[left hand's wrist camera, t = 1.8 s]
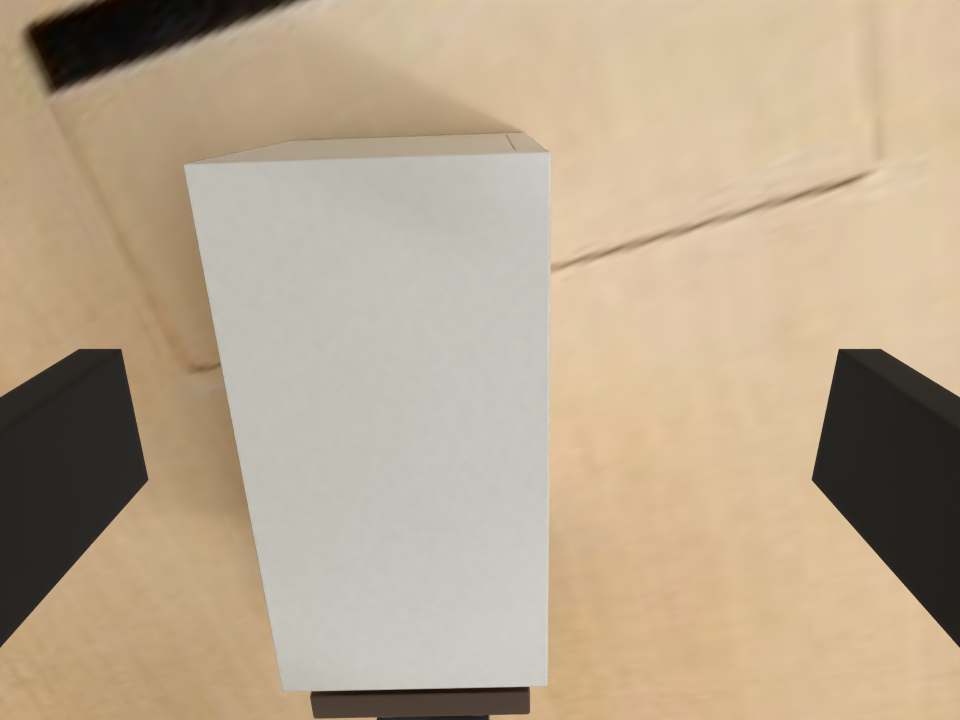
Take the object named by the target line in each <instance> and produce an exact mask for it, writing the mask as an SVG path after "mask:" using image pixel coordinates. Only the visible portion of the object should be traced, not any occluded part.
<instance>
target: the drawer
mask: <svg viewBox="0 0 960 720" xmlns="http://www.w3.org/2000/svg"><path fill="white" fill-rule="evenodd" d="M310 699H311V705H312V711H313V716H314V718H363V717H377V720H490V715H510V714H529V713H530V688H529V687H487V688H439V689H392V690H344V691H312V692H311V696H310Z"/></svg>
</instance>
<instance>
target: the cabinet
mask: <svg viewBox="0 0 960 720" xmlns="http://www.w3.org/2000/svg"><path fill="white" fill-rule="evenodd" d="M184 172H185V177H186V182H187V188H188V193H189V198H190V203H191V209H192V214H193V219H194V224H195V230H196V235H197V240H198V246H199V251H200V256H201V261H202V267H203V272H204V277H205V283H206V288H207V293H208V298H209V304H210V309H211V314H212V319H213V325H214V330H215V335H216V341H217V346H218V351H219V356H220V362H221V367H222V372H223V378H224V383H225V388H226V393H227V399H228V404H229V409H230V415H231V420H232V425H233V430H234V436H235V441H236V446H237V451H238V457H239V462H240V467H241V473H242V478H243V483H244V488H245V494H246V499H247V504H248V510H249V515H250V520H251V525H252V531H253V536H254V541H255V547H256V552H257V557H258V562H259V568H260V573H261V578H262V583H263V589H264V594H265V599H266V605H267V610H268V615H269V620H270V626H271V631H272V636H273V642H274V647H275V652H276V657H277V663H278V668H279V673H280V678H281V684H282V689H283V691H284V692H296V691H344V690H392V689H439V688H487V687H534V686H547V685H548V562H549V408H550V255H551V152H550V151H548V150H546V149H545V148H544V147H543V146H541V145H540V144H539V143H537V142H536V141H535V140H534V139H532V138H531V137H530V136H529V135H527V134H526V133H495V134H466V135H437V136H407V137H378V138H349V139H319V140H292V141H288V142H283V143H278V144H274V145H269V146H265V147H260V148H255V149H251V150H246V151H241V152H237V153H232V154H228V155H223V156H218V157H214V158H209V159H205V160H200V161H195V162H191V163H186V164H184Z"/></svg>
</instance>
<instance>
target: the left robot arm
mask: <svg viewBox="0 0 960 720" xmlns="http://www.w3.org/2000/svg"><path fill="white" fill-rule="evenodd" d="M147 481H148V476H147V471H146V466H145V461H144V457H143V452H142V447H141V442H140V437H139V433H138V428H137V423H136V418H135V413H134V409H133V404H132V399H131V394H130V389H129V384H128V380H127V375H126V370H125V365H124V360H123V356H122V351H121V349H79V350H77V351H75V352H74V353H72V354H70V355H69V356H67V357H65V358H64V359H62V360H61V361H59V362H57V363H56V364H54V365H52V366H51V367H49V368H47V369H46V370H44V371H43V372H41V373H39V374H38V375H36V376H34V377H33V378H31V379H29V380H28V381H26V382H25V383H23V384H21V385H20V386H18V387H16V388H15V389H13V390H11V391H10V392H8V393H7V394H5V395H3V396H2V397H0V647H1V646H2V645H3V644H4V643H5V642H6V641H7V639H8V638H9V637H10V636H11V635H12V634H13V633H14V631H15V630H16V629H17V628H18V627H19V626H20V625H21V624H22V622H23V621H24V620H25V619H26V618H27V617H28V616H29V614H30V613H31V612H32V611H33V610H34V609H35V608H36V607H37V605H38V604H39V603H40V602H41V601H42V600H43V599H44V597H45V596H46V595H47V594H48V593H49V592H50V591H51V590H52V588H53V587H54V586H55V585H56V584H57V583H58V582H59V581H60V579H61V578H62V577H63V576H64V575H65V574H66V573H67V571H68V570H69V569H70V568H71V567H72V566H73V565H74V564H75V562H76V561H77V560H78V559H79V558H80V557H81V556H82V554H83V553H84V552H85V551H86V550H87V549H88V548H89V547H90V545H91V544H92V543H93V542H94V541H95V540H96V539H97V537H98V536H99V535H100V534H101V533H102V532H103V531H104V530H105V528H106V527H107V526H108V525H109V524H110V523H111V522H112V520H113V519H114V518H115V517H116V516H117V515H118V514H119V513H120V511H121V510H122V509H123V508H124V507H125V506H126V505H127V503H128V502H129V501H130V500H131V499H132V498H133V497H134V496H135V494H136V493H137V492H138V491H139V490H140V489H141V488H142V487H143V485H144V484H145V483H146V482H147ZM812 481H813V482H814V483H815V484H816V485H817V487H818V488H819V489H820V490H821V491H822V492H823V493H824V494H825V496H826V497H827V498H828V499H829V500H830V501H831V502H832V503H833V505H834V506H835V507H836V508H837V509H838V510H839V511H840V513H841V514H842V515H843V516H844V517H845V518H846V519H847V520H848V522H849V523H850V524H851V525H852V526H853V527H854V528H855V530H856V531H857V532H858V533H859V534H860V535H861V536H862V537H863V539H864V540H865V541H866V542H867V543H868V544H869V545H870V547H871V548H872V549H873V550H874V551H875V552H876V553H877V554H878V556H879V557H880V558H881V559H882V560H883V561H884V562H885V564H886V565H887V566H888V567H889V568H890V569H891V570H892V571H893V573H894V574H895V575H896V576H897V577H898V578H899V579H900V581H901V582H902V583H903V584H904V585H905V586H906V587H907V588H908V590H909V591H910V592H911V593H912V594H913V595H914V596H915V597H916V599H917V600H918V601H919V602H920V603H921V604H922V605H923V607H924V608H925V609H926V610H927V611H928V612H929V613H930V614H931V616H932V617H933V618H934V619H935V620H936V621H937V622H938V624H939V625H940V626H941V627H942V628H943V629H944V630H945V631H946V633H947V634H948V635H949V636H950V637H951V638H952V639H953V641H954V642H955V643H956V644H957V645H958V646H959V647H960V397H958V396H957V395H955V394H953V393H952V392H950V391H949V390H947V389H945V388H944V387H942V386H940V385H939V384H937V383H935V382H934V381H932V380H931V379H929V378H927V377H926V376H924V375H922V374H921V373H919V372H917V371H916V370H914V369H913V368H911V367H909V366H908V365H906V364H904V363H903V362H901V361H899V360H898V359H896V358H895V357H893V356H891V355H890V354H888V353H886V352H885V351H883V350H881V349H839V351H838V356H837V360H836V365H835V370H834V375H833V380H832V384H831V389H830V394H829V399H828V404H827V409H826V413H825V418H824V423H823V428H822V433H821V437H820V442H819V447H818V452H817V457H816V461H815V466H814V471H813V476H812Z"/></svg>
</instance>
